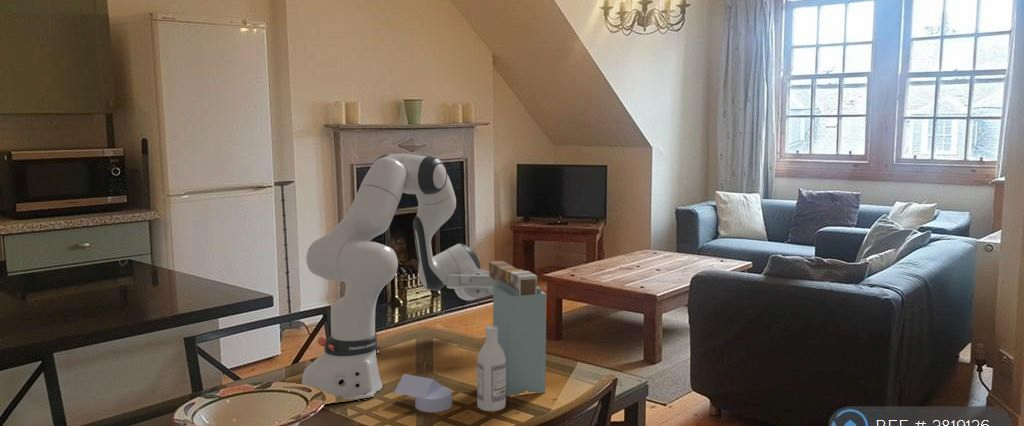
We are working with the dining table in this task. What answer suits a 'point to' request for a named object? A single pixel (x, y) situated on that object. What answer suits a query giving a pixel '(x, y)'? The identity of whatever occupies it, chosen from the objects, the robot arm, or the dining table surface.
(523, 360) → the pale blue tall block
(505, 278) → the patterned long box
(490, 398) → the bath foam
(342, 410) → the dining table surface
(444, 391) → the wedge on round base
